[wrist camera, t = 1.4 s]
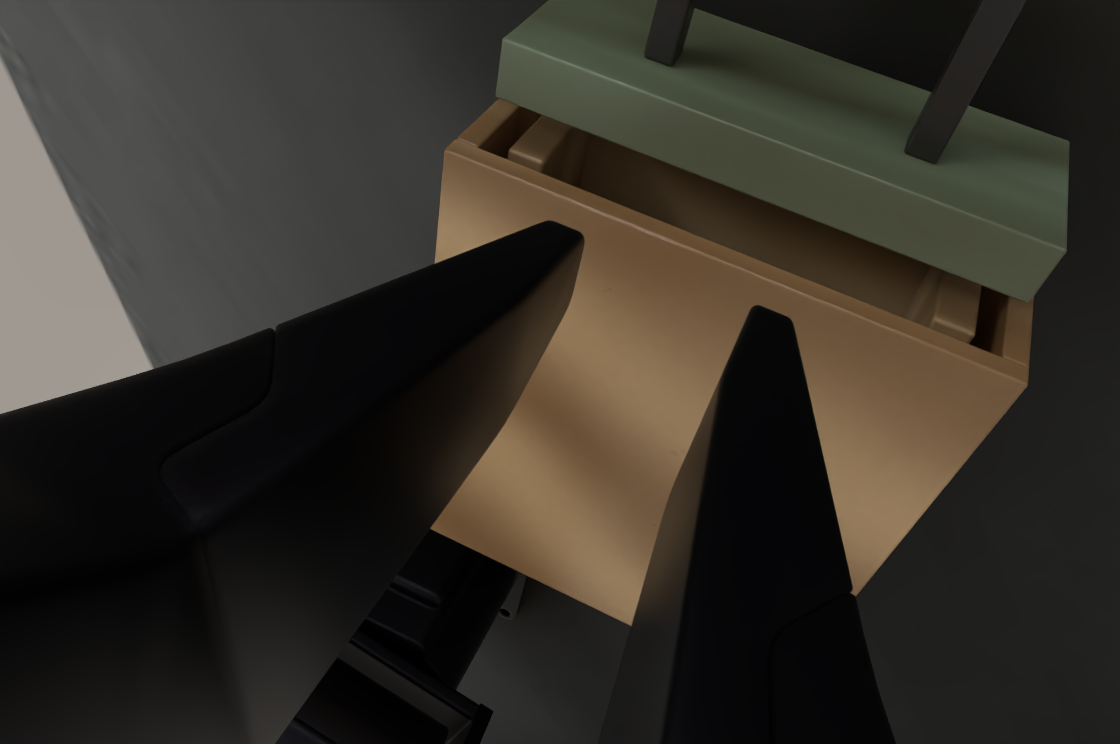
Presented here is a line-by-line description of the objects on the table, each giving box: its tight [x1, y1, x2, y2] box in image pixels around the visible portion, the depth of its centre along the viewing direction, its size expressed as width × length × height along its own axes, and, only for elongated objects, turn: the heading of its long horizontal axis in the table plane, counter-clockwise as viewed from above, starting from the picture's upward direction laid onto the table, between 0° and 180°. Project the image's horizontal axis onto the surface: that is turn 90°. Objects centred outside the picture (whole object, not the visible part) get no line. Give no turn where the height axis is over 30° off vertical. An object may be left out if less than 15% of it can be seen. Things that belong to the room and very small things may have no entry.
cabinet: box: [430, 98, 1034, 626], centre depth 23 cm, size 13×12×6 cm
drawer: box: [496, 0, 1070, 344], centre depth 19 cm, size 17×10×4 cm, turn 169°
